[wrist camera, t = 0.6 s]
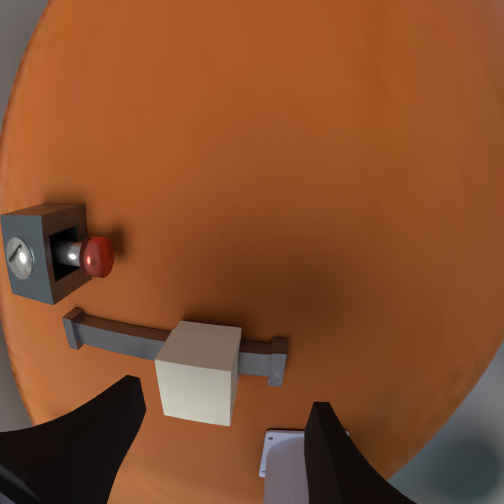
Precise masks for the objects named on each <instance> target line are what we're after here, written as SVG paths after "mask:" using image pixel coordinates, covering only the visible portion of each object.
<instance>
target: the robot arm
mask: <svg viewBox="0 0 504 504" xmlns="http://www.w3.org/2000/svg"><path fill="white" fill-rule="evenodd" d="M145 412H146V406H145V401H144V396H143V392H142V387H141V382H140V378H138V377H134V376H130V375H126V376H125V377H123V378H122V379H121V380H119V381H118V382H116V383H115V384H113V385H112V386H111V387H109V388H108V389H106V390H105V391H104V392H102V393H101V394H99V395H98V396H96V397H95V398H93V399H92V400H90V401H89V402H87V403H85V404H84V405H82V406H80V407H79V408H77V409H75V410H73V411H72V412H70V413H68V414H66V415H63V416H61V417H59V418H57V419H54V420H52V421H49V422H46V423H43V424H40V425H37V426H34V427H30V428H26V429H22V430H16V431H8V432H0V504H107V502H108V498H109V495H110V492H111V489H112V486H113V483H114V480H115V477H116V475H117V472H118V469H119V467H120V465H121V463H122V461H123V459H124V457H125V456H126V454H127V452H128V450H129V448H130V446H131V444H132V442H133V440H134V439H135V437H136V435H137V433H138V431H139V429H140V426H141V424H142V421H143V418H144V415H145ZM259 476H260V477H265V485H264V498H263V504H416V503H415V502H413V501H412V500H410V499H409V498H407V497H406V496H404V495H403V494H402V493H400V492H399V491H398V490H397V489H395V488H394V487H393V486H392V485H390V484H389V483H388V482H387V481H386V480H385V479H384V478H383V477H382V476H381V475H380V474H379V473H378V472H377V471H376V470H375V469H374V468H373V467H372V466H371V465H370V464H369V463H368V461H367V460H366V459H365V458H364V457H363V455H362V454H361V453H360V451H359V450H358V449H357V447H356V446H355V445H354V443H353V442H352V440H351V439H350V437H349V433H348V431H345V429H344V428H343V426H342V424H341V423H340V421H339V419H338V418H337V416H336V414H335V412H334V410H333V408H332V406H331V404H330V403H329V402H314V403H313V406H312V409H311V413H310V416H309V419H308V422H307V425H306V428H305V431H284V430H268V431H267V432H266V436H265V442H264V448H263V453H262V459H261V465H260V471H259Z"/></svg>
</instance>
